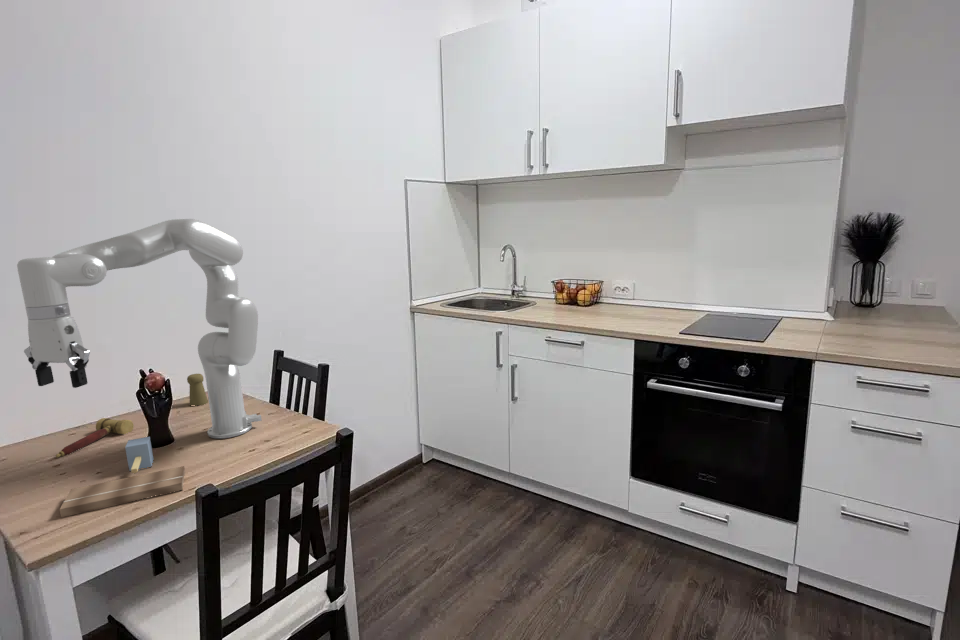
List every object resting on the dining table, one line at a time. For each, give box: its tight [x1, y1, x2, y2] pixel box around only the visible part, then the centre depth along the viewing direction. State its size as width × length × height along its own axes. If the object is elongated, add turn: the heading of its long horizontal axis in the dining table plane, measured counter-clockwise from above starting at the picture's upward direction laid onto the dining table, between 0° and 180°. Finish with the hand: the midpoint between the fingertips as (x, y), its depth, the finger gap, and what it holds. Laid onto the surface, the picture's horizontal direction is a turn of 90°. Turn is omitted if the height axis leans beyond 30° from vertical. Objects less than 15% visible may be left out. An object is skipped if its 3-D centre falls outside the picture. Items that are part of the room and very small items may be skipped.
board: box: [59, 465, 186, 518], centre depth 126 cm, size 24×10×2 cm, turn 116°
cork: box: [186, 373, 209, 407], centre depth 188 cm, size 6×6×11 cm
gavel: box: [55, 417, 135, 458], centre depth 157 cm, size 21×5×10 cm
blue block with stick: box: [124, 436, 155, 474], centre depth 137 cm, size 5×13×7 cm, turn 26°
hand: (63, 385), depth 120 cm, fingers open, 9 cm apart
